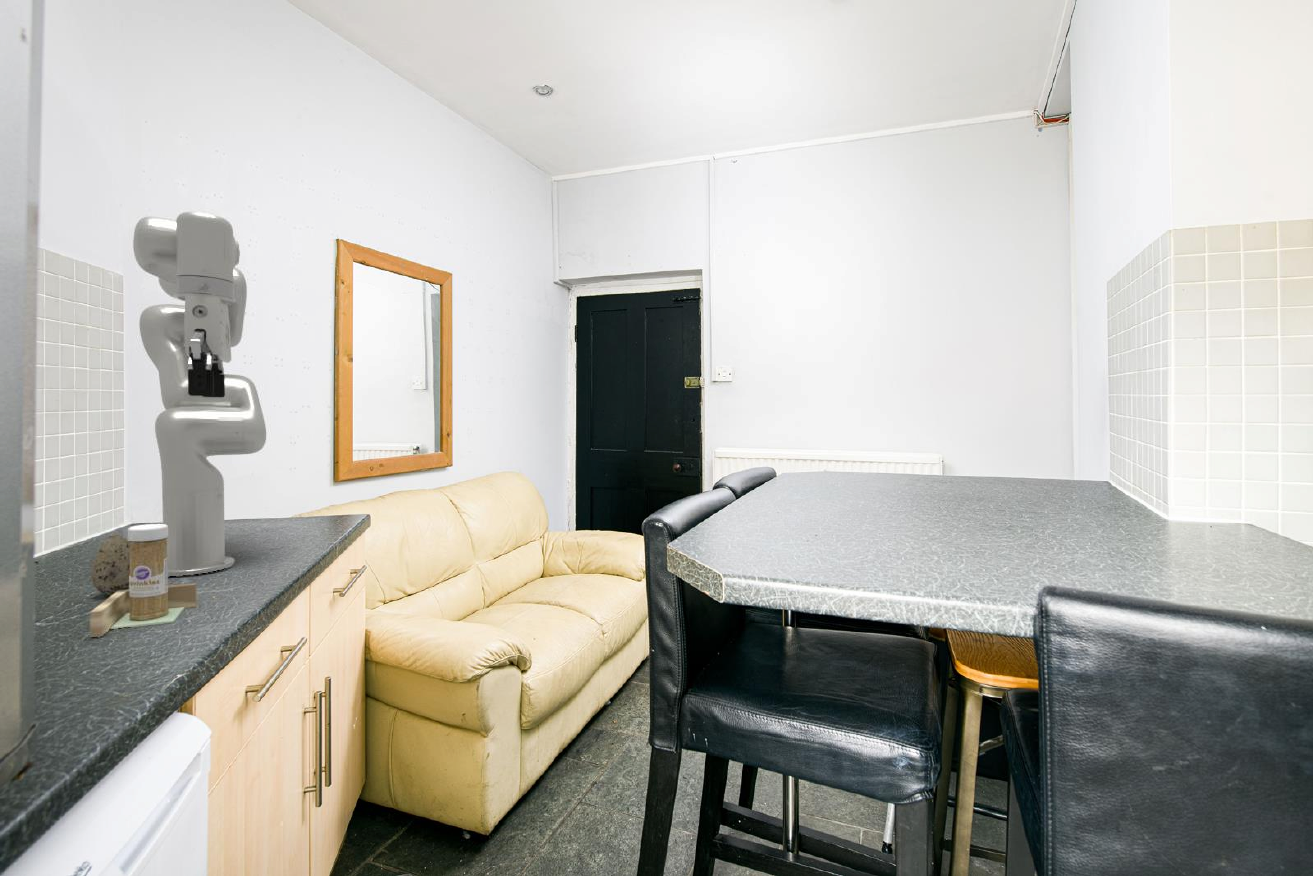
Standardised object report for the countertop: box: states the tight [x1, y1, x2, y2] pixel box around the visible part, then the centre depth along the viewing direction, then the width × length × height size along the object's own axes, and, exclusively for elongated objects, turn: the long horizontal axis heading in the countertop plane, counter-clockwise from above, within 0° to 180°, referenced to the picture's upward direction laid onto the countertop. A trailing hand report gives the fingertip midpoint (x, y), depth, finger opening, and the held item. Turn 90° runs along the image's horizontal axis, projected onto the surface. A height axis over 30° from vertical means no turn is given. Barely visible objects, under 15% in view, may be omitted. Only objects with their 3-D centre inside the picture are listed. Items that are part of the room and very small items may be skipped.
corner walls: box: [89, 582, 198, 638], centre depth 89 cm, size 12×10×4 cm
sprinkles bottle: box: [127, 523, 169, 620], centre depth 89 cm, size 5×5×13 cm
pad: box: [110, 607, 186, 630], centre depth 89 cm, size 7×7×1 cm
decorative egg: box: [91, 534, 130, 596], centre depth 101 cm, size 6×6×10 cm
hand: (207, 396), depth 100 cm, fingers open, 9 cm apart
